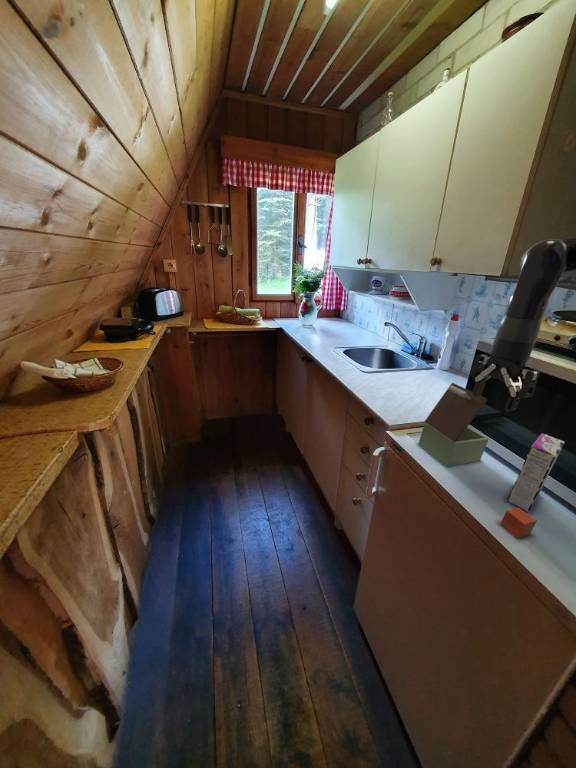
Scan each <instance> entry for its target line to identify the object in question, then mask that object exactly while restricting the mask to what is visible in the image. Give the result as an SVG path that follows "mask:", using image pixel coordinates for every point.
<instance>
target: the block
mask: <svg viewBox="0 0 576 768" xmlns="http://www.w3.org/2000/svg"><path fill="white" fill-rule="evenodd" d="M537 522H538V521H537V519H535V518H534V517H533V516H531V515H530V514H529V513H528V512H527V511H525V510H523V509H522V508H520V507H518V506H517V507H515V508H511V509H507V510H506V511H505V513H504V515H503V516H502V520H501V522H500V525H501V526H502V527H503V528H504V529H506V530H507V531H508V532H509V533H511V535H513V536H514V537H515V538H516V539H520V538H523V537H527V536H529V535H531V533H532V531H533V529H534V527H535V526H536V524H537Z"/></svg>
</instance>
